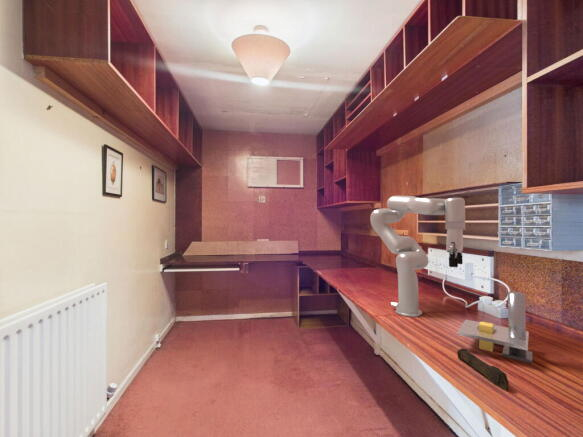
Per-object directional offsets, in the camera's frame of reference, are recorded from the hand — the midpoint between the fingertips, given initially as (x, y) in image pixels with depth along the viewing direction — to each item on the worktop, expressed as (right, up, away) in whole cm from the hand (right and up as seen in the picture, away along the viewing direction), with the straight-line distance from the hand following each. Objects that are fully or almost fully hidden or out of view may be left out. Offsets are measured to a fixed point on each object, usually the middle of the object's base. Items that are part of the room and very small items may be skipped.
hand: (455, 265), depth 122 cm
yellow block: (+2, -28, -17) cm, 33 cm away
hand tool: (-11, -29, -34) cm, 46 cm away
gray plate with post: (+3, -28, -19) cm, 34 cm away
